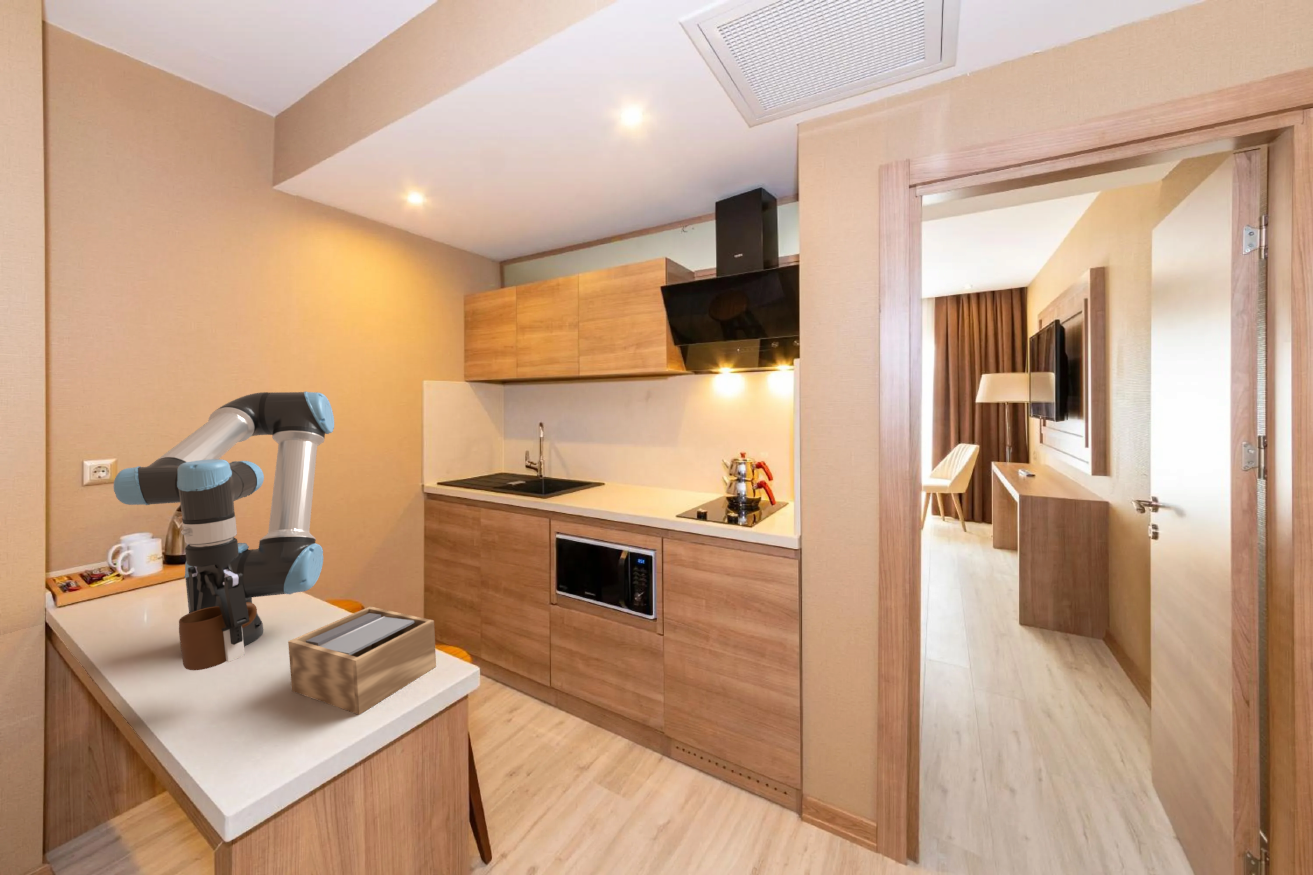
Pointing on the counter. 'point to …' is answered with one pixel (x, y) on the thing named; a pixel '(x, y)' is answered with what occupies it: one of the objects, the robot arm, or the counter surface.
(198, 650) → the mug
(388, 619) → the trapdoor
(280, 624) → the counter surface
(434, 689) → the counter surface
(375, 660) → the trapdoor frame
